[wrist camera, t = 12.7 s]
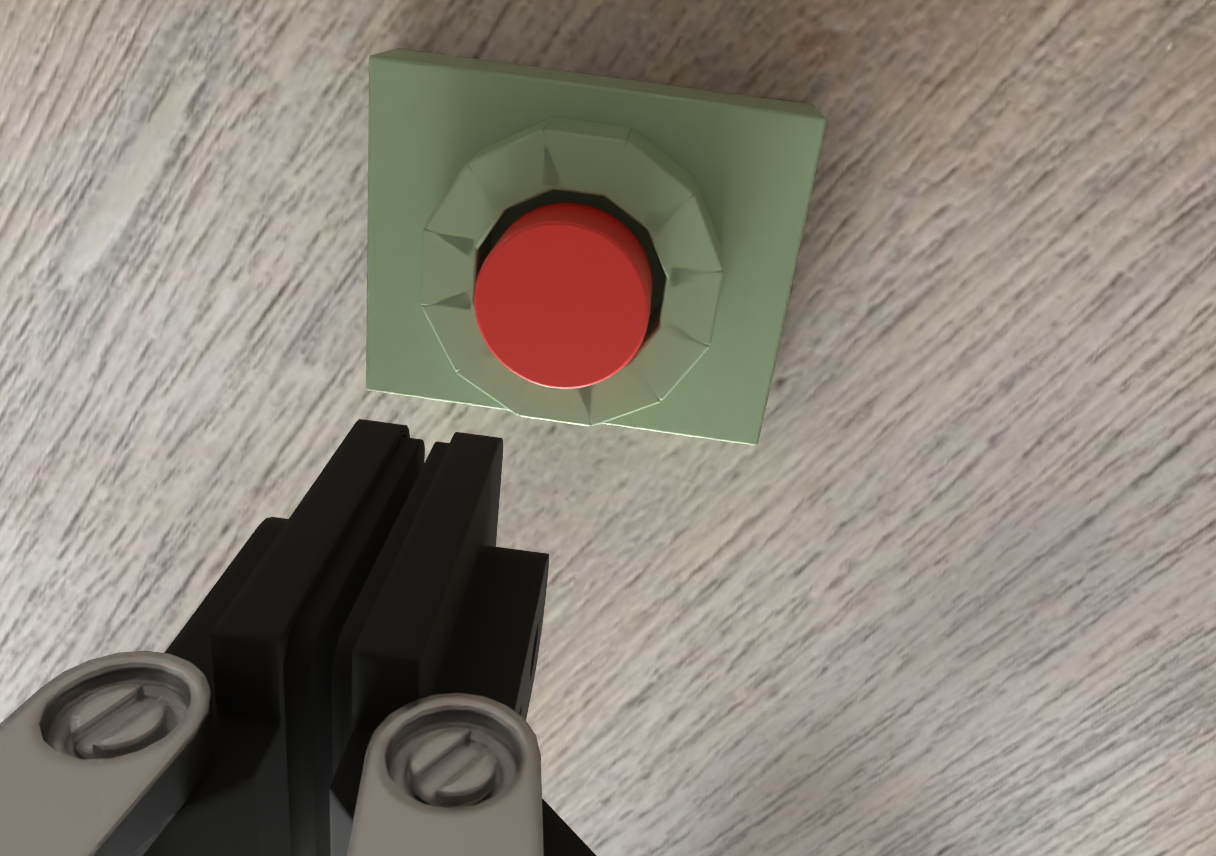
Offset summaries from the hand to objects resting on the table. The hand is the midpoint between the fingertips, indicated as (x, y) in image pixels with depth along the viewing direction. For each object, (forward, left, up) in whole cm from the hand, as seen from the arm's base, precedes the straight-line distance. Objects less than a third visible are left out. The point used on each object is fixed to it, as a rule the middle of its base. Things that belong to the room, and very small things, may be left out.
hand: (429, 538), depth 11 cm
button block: (0, 0, -14) cm, 14 cm away
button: (0, 0, -11) cm, 11 cm away
